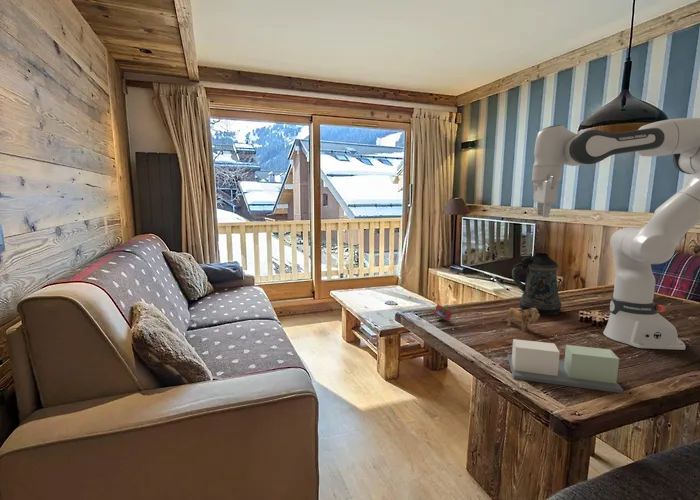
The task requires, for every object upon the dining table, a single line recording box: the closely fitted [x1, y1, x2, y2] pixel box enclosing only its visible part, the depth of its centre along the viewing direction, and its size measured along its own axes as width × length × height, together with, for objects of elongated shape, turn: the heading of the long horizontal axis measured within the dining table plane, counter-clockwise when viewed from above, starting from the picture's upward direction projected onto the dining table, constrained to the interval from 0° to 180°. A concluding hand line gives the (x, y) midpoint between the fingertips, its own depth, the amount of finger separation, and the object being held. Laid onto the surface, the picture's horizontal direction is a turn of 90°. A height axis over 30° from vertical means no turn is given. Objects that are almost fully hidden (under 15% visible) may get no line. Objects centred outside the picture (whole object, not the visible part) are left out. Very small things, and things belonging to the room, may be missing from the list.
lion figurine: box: [501, 307, 541, 332], centre depth 139 cm, size 15×5×9 cm, turn 34°
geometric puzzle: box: [433, 304, 453, 323], centre depth 146 cm, size 7×7×8 cm
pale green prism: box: [563, 344, 620, 384], centre depth 100 cm, size 11×6×7 cm, turn 73°
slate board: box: [507, 353, 624, 394], centre depth 104 cm, size 26×14×1 cm, turn 73°
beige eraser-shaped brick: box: [511, 338, 561, 376], centre depth 104 cm, size 11×6×7 cm, turn 73°
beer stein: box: [511, 252, 562, 316], centre depth 158 cm, size 16×19×25 cm
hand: (542, 216), depth 125 cm, fingers open, 8 cm apart
